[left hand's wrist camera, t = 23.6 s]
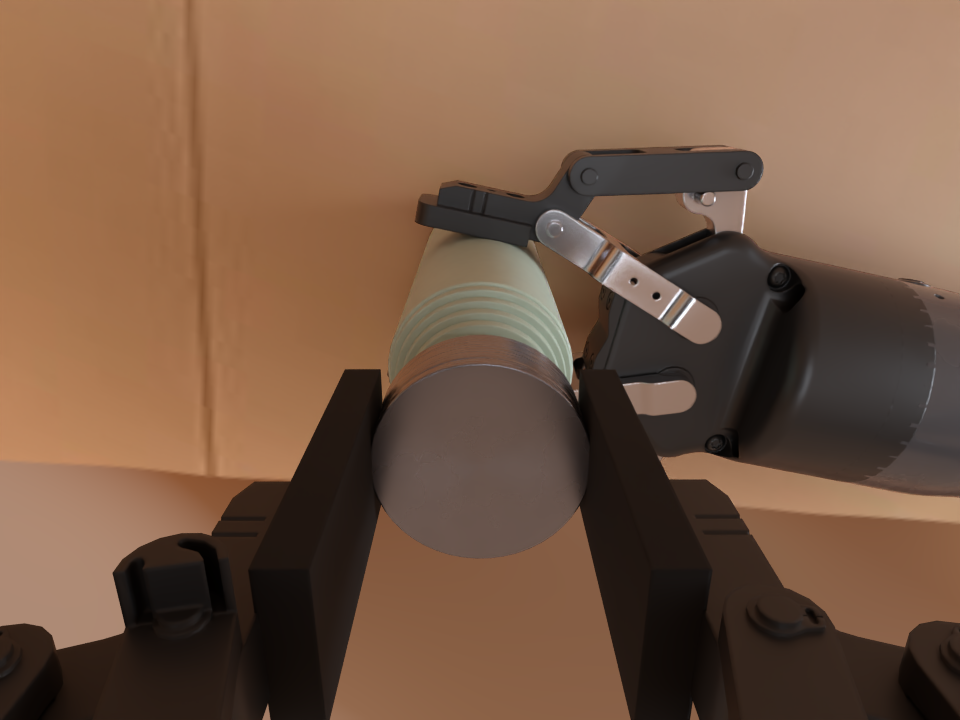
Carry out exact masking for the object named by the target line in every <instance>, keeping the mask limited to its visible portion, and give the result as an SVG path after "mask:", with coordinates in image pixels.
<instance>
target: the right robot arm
mask: <svg viewBox="0 0 960 720" xmlns="http://www.w3.org/2000/svg"><path fill="white" fill-rule="evenodd" d="M762 174H763V162H762V160H761V158H760V157H759V156H758V155H757V154H756V153H754V152H751V151H747V150H742V149H738V148H733V147H729V146H724V145H709V146H681V147H653V148H624V149H596V150H576V151H573V152H571V153H569V154H568V155H567V156H566V157H565V158H564V160H563V162H562V165H561V168H560V170H559V172H558V173H557V175H556V176H555V178H554V179H553V181H552V182H551V184H550V185H549V187H548V188H547V189H546V190H544V191H543V192H541V193H539V194H537V195H529V196H528V195H523V194H518V193H513V192H509V191H504V190H500V189H495V188H491V187H485V186H481V185H477V184H472V183H468V182H463V181H458V180H457V181H451V182H446V183H442V184H441V187H440V190H439V195H438V196H437V195H431V194H422V195H421V197H420V198H419V201H418V206H417V212H416V218H415V222H416V223H418V224H421V225H424V226H428V227H433V228H437V229H442V230H447V231H452V232H456V233H461V234H466V235H470V236H475V237H480V238H485V239H490V240H495V241H500V242H503V243H508V244H513V245H517V246H522V247H527V245H528V241H529V240H532V241H536V242H541V243H542V244H543V245H545V246H546V247H548V248H550V249H551V250H553V251H554V252H556V253H557V254H559V255H561V256H562V257H564V258H565V259H567V260H569V261H570V262H572V263H573V264H575V265H577V266H578V267H580V268H581V269H583V270H584V271H586V272H587V273H588V274H590V275H591V276H592V277H593V278H594V279H596V280H597V281H598V282H600V283H601V284H603V285H602V289H601V292H600V296H599V319H598V321H597V323H596V324H595V326H594V328H593V329H592V331H591V333H590V334H589V336H588V338H587V341H586V345H585V348H584V352H578V353H572V358H573V374H572V382H571V386H572V388H573V391H574V393H575V395H576V397H577V401H578V395H579V377H580V369H584V368H585V369H615V370H616V372H617V374H618V376H619V378H620V380H621V382H622V384H623V386H624V388H625V390H626V392H627V394H628V396H629V398H630V400H631V402H632V405H633V407H634V409H635V411H636V413H637V415H638V417H639V419H640V421H641V423H642V425H643V427H644V429H645V431H646V433H647V435H648V437H649V440H650V442H651V444H652V446H653V448H654V450H655V452H656V454H657V456H658V458H659V460H660V461H661V459H662V458H663V457H676V456H680V455H683V454H687V453H693V452H706V453H710V454H714V455H717V456H720V457H723V458H726V459H730V460H733V461H737V462H742V463H747V464H752V465H758V466H763V467H768V468H773V469H779V470H784V471H789V472H794V473H800V474H805V475H810V476H815V477H820V478H826V479H831V480H836V481H841V482H848V483H853V484H858V485H863V486H868V487H873V488H878V489H883V490H888V491H893V492H898V493H905V494H912V495H925V496H944V497H959V498H960V294H959V293H955V292H951V291H947V290H943V289H938V288H934V287H931V286H930V285H928V284H925V283H924V282H921V281H917V280H911V279H903V278H899V279H892V278H888V277H883V276H878V275H874V274H869V273H865V272H860V271H855V270H851V269H846V268H842V267H837V266H832V265H828V264H823V263H819V262H814V261H809V260H805V259H800V258H796V257H791V256H786V255H782V254H777V253H772V252H768V251H765V250H762V249H761V248H760V247H759V246H758V245H757V244H756V243H755V242H754V241H753V240H752V239H751V238H749V237H748V236H746V235H745V234H742V233H743V224H744V215H745V205H746V196H747V190H749V189H751V188H753V187H754V186H755V185H756V184H757V183H758V182H759V181H760V179H761V177H762ZM672 193H675V195H676V199H677V202H678V203H679V204H680V206H682V207H683V208H685V209H687V210H688V211H690V212H692V213H695V214H702V215H703V216H704V218H705V220H706V223H707V228H705V229H703V230H700V231H698V232H695V233H693V234H691V235H688V236H686V237H684V238H681V239H679V240H676V241H674V242H672V243H669V244H667V245H665V246H662V247H660V248H657V249H655V250H653V251H650V252H648V253H646V254H643V255H641V254H639V253H638V252H636V251H635V250H633V249H632V248H630V247H629V246H627V245H626V244H624V243H622V242H621V241H619V240H618V239H616V238H615V237H613V236H612V235H610V234H609V233H607V232H605V231H604V230H602V229H600V228H599V227H596V226H595V225H593V224H591V223H590V222H588V221H587V220H585V219H584V218H582V217H581V216H582V214H583V213H584V211H585V210H586V208H587V207H588V205H589V204H590V202H591V201H592V199H593V198H594V197H595V196H614V195H643V194H672ZM387 375H388V377H389V373H387Z"/></svg>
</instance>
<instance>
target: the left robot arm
mask: <svg viewBox="0 0 960 720" xmlns="http://www.w3.org/2000/svg"><path fill="white" fill-rule="evenodd" d="M578 404H579V407H580V410H581V413H582V416H583V419H584V423H585V426H586V429H587V432H588V436H589V440H590V450H589V465H588V480H587V491H586V494H585V496H584V498H583V500H582V502H581V504H580V509H581V513H582V517H583V522H584V526H585V530H586V534H587V538H588V542H589V547H590V551H591V555H592V559H593V563H594V568H595V572H596V576H597V580H598V584H599V588H600V593H601V597H602V601H603V605H604V609H605V614H606V618H607V622H608V626H609V630H610V635H611V639H612V643H613V647H614V651H615V655H616V659H617V664H618V668H619V672H620V676H621V681H622V685H623V689H624V693H625V697H626V701H627V706H628V710H629V714H630V718H631V720H690V715H691V709H692V702H693V703H694V705H695V708H696V711H697V714H698V717H699V720H960V623H952V622H943V621H933V622H928V623H922V624H919V625H918V626H917V627H916V628H914V629H913V630H912V631H911V632H910V633H909V636H908V640H907V643H906V646H905V647H900V646H896V645H892V644H887V643H883V642H878V641H874V640H870V639H865V638H861V637H857V636H854V635H850V634H847V633H844V632H840V631H838V630H836V629H835V627H834V625H833V623H832V622H831V620H830V619H829V617H828V616H827V614H826V613H825V611H823V610H822V609H821V608H820V607H819V606H817V605H816V604H815V603H814V602H812V601H811V600H810V599H809V598H806V597H804V596H802V595H800V594H798V593H796V592H794V591H792V590H790V589H787V588H784V587H783V585H782V583H781V582H780V580H779V578H778V577H777V575H776V574H775V572H774V570H773V569H772V567H771V565H770V564H769V562H768V560H767V559H766V557H765V556H764V554H763V552H762V551H761V549H760V547H759V546H758V544H757V542H756V541H755V539H754V538H753V536H752V535H750V534H749V529H748V528H747V526H746V525H745V523H744V521H743V520H742V519H740V515H739V513H738V511H737V510H736V508H735V507H734V505H733V503H732V502H731V500H730V498H729V497H728V496H727V495H726V494H725V493H723V492H722V491H721V490H719V489H718V488H717V487H715V486H714V485H713V484H711V483H710V482H709V481H707V480H669V479H668V477H667V475H666V473H665V470H664V468H663V466H662V464H661V462H660V460H659V458H658V456H657V454H656V452H655V450H654V448H653V446H652V444H651V442H650V440H649V437H648V435H647V433H646V431H645V429H644V427H643V425H642V423H641V421H640V419H639V417H638V415H637V413H636V411H635V409H634V407H633V405H632V402H631V400H630V398H629V396H628V394H627V392H626V390H625V388H624V386H623V384H622V382H621V380H620V378H619V376H618V374H617V372H616V370H615V369H580V377H579V395H578ZM381 407H382V386H381V369H345V371H344V373H343V375H342V377H341V379H340V381H339V383H338V385H337V387H336V389H335V391H334V393H333V395H332V397H331V399H330V401H329V404H328V406H327V408H326V410H325V412H324V414H323V416H322V418H321V420H320V422H319V424H318V426H317V428H316V430H315V432H314V434H313V436H312V439H311V441H310V443H309V445H308V447H307V449H306V451H305V453H304V455H303V457H302V459H301V461H300V463H299V465H298V467H297V469H296V472H295V474H294V476H293V478H292V480H291V482H254V483H252V484H251V485H250V486H248V487H247V488H246V489H244V490H243V491H242V492H240V493H239V494H238V495H236V496H235V497H234V498H233V499H232V500H231V502H230V504H229V505H228V507H227V508H226V510H225V512H224V513H223V515H222V517H221V521H219V522H218V523H217V525H216V527H215V528H214V530H213V531H212V536H210V535H206V534H203V533H181V534H177V535H172V536H168V537H163V538H159V539H157V540H155V541H152V542H150V543H148V544H145V545H143V546H141V547H139V548H137V549H136V550H135V551H133V552H132V553H131V554H129V555H128V556H126V557H125V558H124V559H122V561H121V562H120V563H119V565H118V566H117V568H116V569H115V570H114V572H113V577H114V581H115V585H116V589H117V593H118V598H119V602H120V606H121V610H122V614H123V619H124V623H125V627H126V628H125V631H124V633H122V634H119V635H116V636H113V637H109V638H106V639H103V640H98V641H94V642H90V643H85V644H81V645H77V646H72V647H68V648H64V649H59V650H56V648H55V644H54V641H53V637H52V635H51V634H50V633H48V632H47V631H46V630H45V629H44V628H43V627H41V626H35V625H30V624H16V625H7V626H1V627H0V720H262V719H263V716H264V713H265V710H266V707H267V704H268V705H269V712H270V719H271V720H330V716H331V712H332V708H333V703H334V699H335V695H336V691H337V687H338V683H339V678H340V674H341V670H342V666H343V662H344V657H345V653H346V649H347V645H348V641H349V637H350V632H351V628H352V624H353V620H354V616H355V611H356V607H357V603H358V599H359V595H360V591H361V586H362V582H363V578H364V574H365V569H366V565H367V561H368V557H369V553H370V549H371V545H372V540H373V536H374V532H375V528H376V524H377V519H378V515H379V511H380V507H381V503H380V502H379V500H378V498H377V495H376V493H375V490H374V487H373V473H372V458H371V440H372V436H373V433H374V430H375V426H376V423H377V420H378V417H379V413H380V410H381Z"/></svg>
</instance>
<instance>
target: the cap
mask: <svg viewBox="0 0 960 720" xmlns="http://www.w3.org/2000/svg"><path fill="white" fill-rule="evenodd" d="M589 450H590V440H589V436H588V432H587V429H586V426H585V423H584V419H583V416H582V413H581V410H580V407H579V404H578V401H577V397H576V395H575V393H574V391H573V388H572V386H571V385H570V383H569V381H568V380H567V378H566V376H565V375H564V374H563V373H562V371H561V370H560V369H559V368H558V367H557V366H556V365H555V364H554V363H553V362H552V361H551V360H550V359H549V358H548V357H546V356H545V355H543V354H542V353H540V352H539V351H538V350H536V349H534V348H532V347H530V346H528V345H526V344H524V343H521V342H519V341H516V340H513V339H509V338H505V337H500V336H495V335H468V336H461V337H456V338H451V339H448V340H445V341H442V342H440V343H437V344H435V345H433V346H431V347H429V348H427V349H425V350H424V351H422V352H420V353H419V354H418V355H416V356H415V357H414V358H412V359H411V360H410V361H409V362H408V363H407V364H406V365H405V366H404V367H403V368H402V369H401V370H400V371H399V373H398V374H397V375H396V377H395V378H394V379H393V381H392V383H391V385H390V387H389V388H388V390H387V393H386V395H385V398H384V401H383V404H382V407H381V410H380V413H379V417H378V420H377V423H376V426H375V430H374V433H373V436H372V440H371V458H372V473H373V487H374V490H375V493H376V495H377V498H378V500H379V502H380V503H381V505H382V507H383V508H384V510H385V512H386V513H387V514H388V515H389V517H390V518H391V519H392V521H393V522H394V523H395V524H396V525H397V526H398V527H399V528H400V529H401V530H403V531H404V532H405V533H406V534H408V535H409V536H410V537H412V538H413V539H415V540H416V541H418V542H420V543H422V544H423V545H425V546H428V547H430V548H432V549H434V550H437V551H440V552H443V553H446V554H449V555H454V556H459V557H466V558H495V557H502V556H507V555H511V554H515V553H519V552H521V551H524V550H527V549H529V548H532V547H533V546H535V545H537V544H539V543H542V542H543V541H545V540H546V539H548V538H549V537H551V536H552V535H554V534H555V533H556V532H557V531H558V530H559V529H561V528H562V527H563V526H564V525H565V524H566V523H567V522H568V520H569V519H570V518H571V517H572V516H573V514H574V513H575V511H576V510H577V509H578V507H579V506H580V504H581V502H582V500H583V498H584V496H585V494H586V491H587V480H588V465H589Z"/></svg>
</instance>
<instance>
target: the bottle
mask: <svg viewBox="0 0 960 720" xmlns="http://www.w3.org/2000/svg"><path fill="white" fill-rule="evenodd" d="M468 335H495V336H500V337H505V338H509V339H513V340H516V341H519V342H521V343H524V344H526V345H528V346H530V347H532V348H534V349H536V350H538V351H539V352H540V353H542V354H543V355H545V356H546V357H548V358H549V359H550V360H551V361H552V362H553V363H554V364H555V365H556V366H557V367H558V368H559V369H560V370H561V371H562V373H563V374H564V375H565V376H566V378H567V380H568V381H569V383H570V385H571V382H572V374H573V358H572V352H571V347H570V344H569V341H568V337H567V335H566V332H565V329H564V326H563V323H562V320H561V318H560V315H559V312H558V309H557V306H556V303H555V301H554V298H553V295H552V292H551V289H550V287H549V284H548V281H547V278H546V275H545V272H544V270H543V267H542V264H541V261H540V258H539V255H538V253H537V250H536V247H535V244H534V241H532V240H529V241H528V245H527V247H522V246H517V245H513V244H508V243H503V242H500V241H495V240H490V239H485V238H480V237H475V236H470V235H466V234H461V233H456V232H452V231H447V230H442V229H437V228H434V229H433V230H432V232H431V234H430V236H429V239H428V242H427V244H426V247H425V250H424V253H423V256H422V259H421V261H420V264H419V267H418V270H417V273H416V276H415V278H414V281H413V284H412V287H411V290H410V293H409V295H408V298H407V301H406V304H405V307H404V310H403V312H402V315H401V318H400V321H399V324H398V326H397V329H396V332H395V335H394V338H393V341H392V344H391V347H390V353H389V359H388V373H389V381H390V385H391V383H392V381H393V379H394V378H395V377H396V375H397V374H398V373H399V371H400V370H401V369H402V368H403V367H404V366H405V365H406V364H407V363H408V362H409V361H410V360H411V359H412V358H414V357H415V356H416V355H418V354H419V353H420V352H422V351H424V350H425V349H427V348H429V347H431V346H433V345H435V344H437V343H440V342H442V341H445V340H448V339H451V338H456V337H461V336H468Z"/></svg>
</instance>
